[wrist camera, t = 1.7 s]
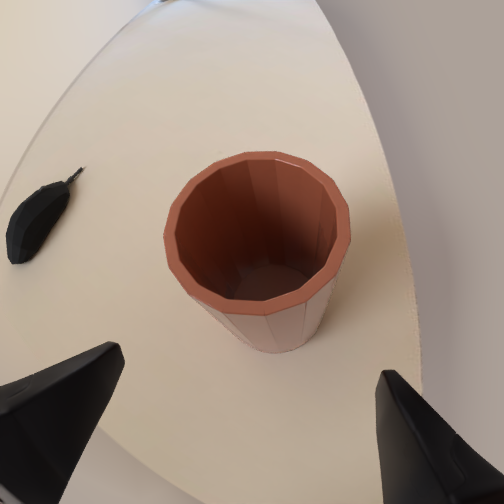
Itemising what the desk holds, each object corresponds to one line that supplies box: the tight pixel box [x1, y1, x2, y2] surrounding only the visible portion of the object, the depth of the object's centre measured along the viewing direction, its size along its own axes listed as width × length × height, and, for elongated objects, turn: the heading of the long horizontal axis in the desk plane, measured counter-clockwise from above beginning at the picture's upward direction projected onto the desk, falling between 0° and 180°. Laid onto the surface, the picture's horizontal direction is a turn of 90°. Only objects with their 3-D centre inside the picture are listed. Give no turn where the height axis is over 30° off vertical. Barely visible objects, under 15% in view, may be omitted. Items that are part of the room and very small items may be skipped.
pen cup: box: [163, 151, 351, 353], centre depth 16 cm, size 7×7×12 cm
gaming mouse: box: [6, 167, 83, 264], centre depth 28 cm, size 6×15×4 cm, turn 148°
